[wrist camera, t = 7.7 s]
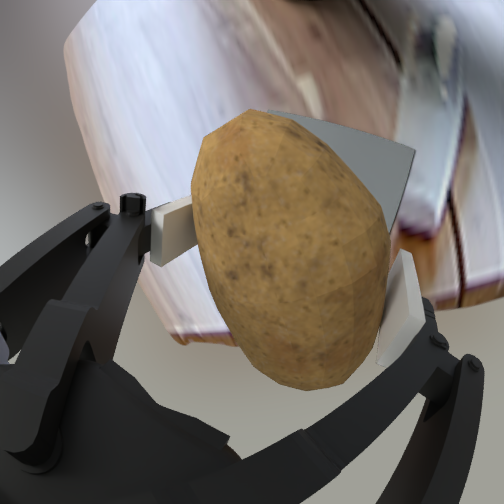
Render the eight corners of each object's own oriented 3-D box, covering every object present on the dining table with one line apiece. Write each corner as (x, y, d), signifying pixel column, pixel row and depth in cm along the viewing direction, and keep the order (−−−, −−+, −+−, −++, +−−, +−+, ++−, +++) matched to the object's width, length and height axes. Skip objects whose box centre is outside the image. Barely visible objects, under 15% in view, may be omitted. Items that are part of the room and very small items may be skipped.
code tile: (268, 109, 31) (267, 109, 30) (414, 149, 25) (414, 149, 25) (241, 263, 41) (240, 264, 41) (357, 307, 36) (357, 308, 35)
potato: (352, 95, 13) (332, 53, 6) (400, 315, 16) (398, 411, 10) (209, 146, 17) (116, 160, 11) (272, 326, 21) (223, 401, 14)
